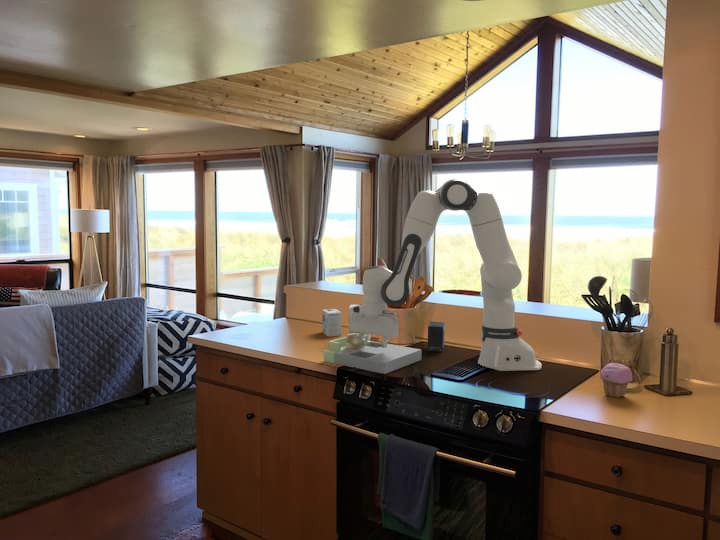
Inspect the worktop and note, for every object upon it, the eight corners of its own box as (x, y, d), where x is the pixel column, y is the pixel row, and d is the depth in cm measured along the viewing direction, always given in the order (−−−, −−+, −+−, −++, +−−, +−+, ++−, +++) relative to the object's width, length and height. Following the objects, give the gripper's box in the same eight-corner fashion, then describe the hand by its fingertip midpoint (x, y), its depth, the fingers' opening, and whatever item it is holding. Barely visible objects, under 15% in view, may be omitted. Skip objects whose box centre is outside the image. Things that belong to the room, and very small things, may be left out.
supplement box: (350, 337, 256) (350, 304, 254) (370, 337, 255) (370, 304, 253) (348, 341, 247) (348, 307, 245) (368, 342, 246) (368, 307, 244)
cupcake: (609, 389, 180) (611, 358, 179) (636, 396, 173) (638, 364, 172) (594, 394, 175) (595, 362, 174) (621, 402, 168) (622, 369, 167)
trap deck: (421, 359, 216) (421, 341, 216) (385, 374, 197) (385, 354, 197) (362, 349, 233) (362, 332, 232) (323, 361, 214) (323, 342, 214)
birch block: (364, 347, 220) (364, 334, 219) (356, 349, 216) (356, 336, 215) (354, 345, 223) (354, 332, 222) (346, 347, 219) (346, 334, 218)
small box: (443, 352, 229) (443, 326, 227) (426, 351, 230) (427, 325, 229) (444, 346, 239) (445, 321, 238) (429, 345, 240) (429, 320, 239)
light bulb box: (322, 332, 267) (321, 309, 266) (335, 331, 269) (335, 308, 268) (327, 336, 257) (327, 313, 256) (342, 335, 259) (342, 312, 258)
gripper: (402, 311, 209) (401, 348, 210) (357, 305, 221) (357, 340, 223) (392, 313, 204) (392, 351, 205) (347, 307, 216) (347, 343, 218)
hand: (373, 345), depth 214 cm, fingers open, 8 cm apart
